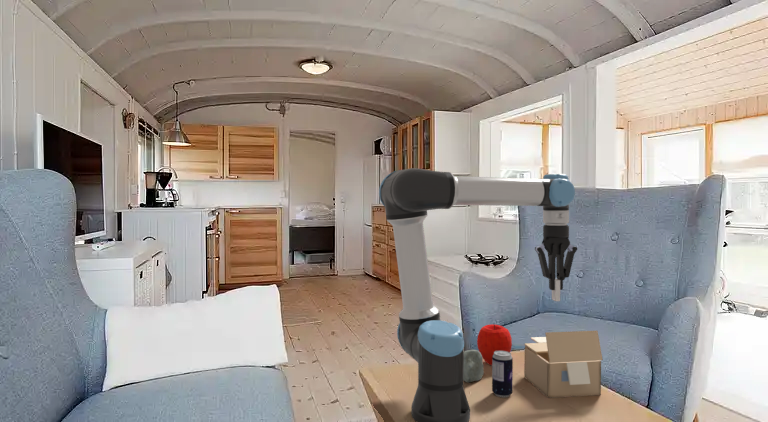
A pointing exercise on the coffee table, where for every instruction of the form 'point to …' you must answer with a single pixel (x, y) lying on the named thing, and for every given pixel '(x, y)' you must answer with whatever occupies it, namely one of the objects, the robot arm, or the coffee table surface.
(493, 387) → the beverage can
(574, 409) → the coffee table surface
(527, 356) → the carton
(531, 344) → the far flap
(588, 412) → the coffee table surface
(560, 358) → the near flap
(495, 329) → the apple
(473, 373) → the decorative stone
